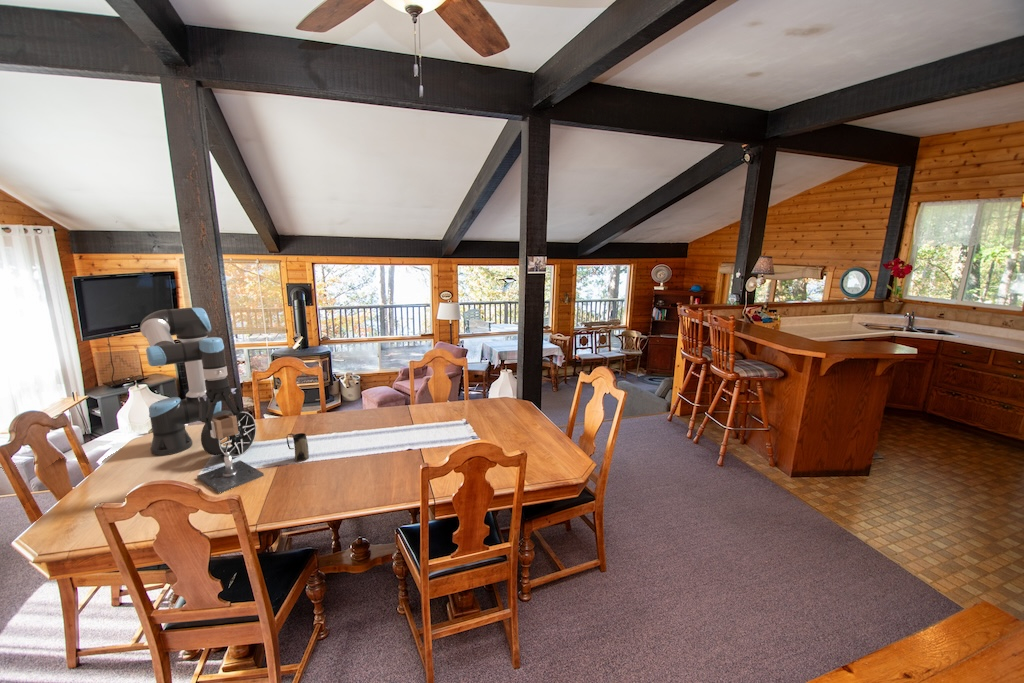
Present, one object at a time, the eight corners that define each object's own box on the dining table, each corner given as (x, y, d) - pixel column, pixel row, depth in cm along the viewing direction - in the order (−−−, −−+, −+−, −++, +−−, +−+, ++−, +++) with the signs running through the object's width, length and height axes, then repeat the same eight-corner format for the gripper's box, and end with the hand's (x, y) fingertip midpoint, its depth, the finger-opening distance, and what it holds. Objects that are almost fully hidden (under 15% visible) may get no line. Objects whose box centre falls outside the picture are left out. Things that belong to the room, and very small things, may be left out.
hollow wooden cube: (210, 435, 166) (208, 418, 165) (230, 429, 172) (228, 413, 170) (218, 439, 162) (216, 422, 161) (238, 433, 168) (236, 416, 166)
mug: (310, 455, 189) (307, 430, 186) (307, 461, 184) (304, 435, 181) (291, 457, 187) (288, 431, 185) (287, 463, 182) (284, 437, 180)
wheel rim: (222, 465, 180) (215, 421, 176) (204, 463, 182) (197, 419, 178) (258, 445, 199) (253, 405, 195) (242, 443, 201) (236, 403, 197)
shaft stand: (197, 478, 169) (193, 453, 167) (240, 462, 182) (237, 439, 180) (219, 493, 158) (215, 467, 156) (263, 475, 171) (260, 451, 169)
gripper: (189, 385, 152) (199, 445, 157) (248, 373, 168) (255, 427, 173) (181, 382, 156) (191, 440, 161) (239, 370, 173) (247, 423, 177)
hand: (224, 433), depth 167 cm, fingers closed on hollow wooden cube, 7 cm apart
